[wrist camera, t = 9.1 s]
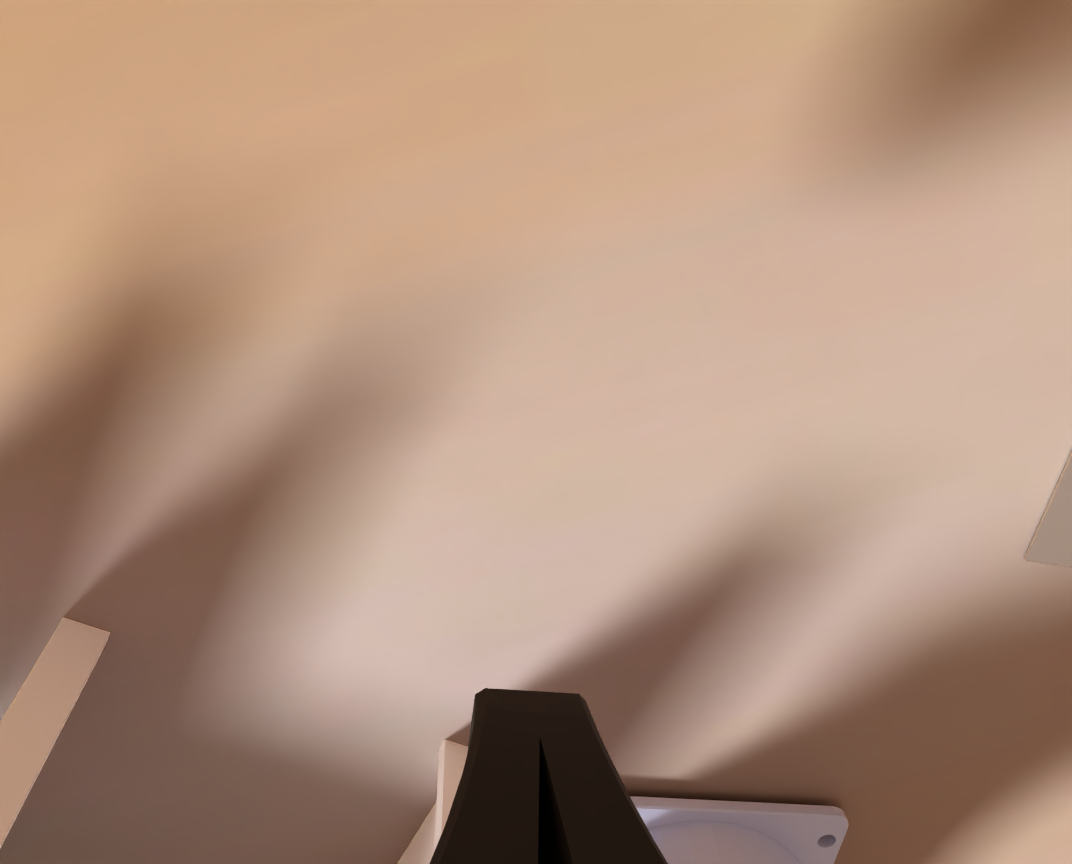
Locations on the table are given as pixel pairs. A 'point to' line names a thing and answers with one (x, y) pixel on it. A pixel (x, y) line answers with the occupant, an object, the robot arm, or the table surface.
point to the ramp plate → (1055, 526)
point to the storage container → (54, 687)
